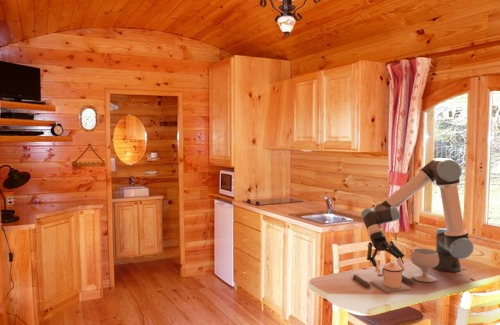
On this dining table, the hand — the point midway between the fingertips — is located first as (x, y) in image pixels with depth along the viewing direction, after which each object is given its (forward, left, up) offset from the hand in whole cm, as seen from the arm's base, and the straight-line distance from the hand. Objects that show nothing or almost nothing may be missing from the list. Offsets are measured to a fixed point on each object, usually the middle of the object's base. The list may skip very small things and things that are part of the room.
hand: (391, 271), depth 208 cm
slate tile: (+1, -1, -8) cm, 8 cm away
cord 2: (-1, -15, -8) cm, 17 cm away
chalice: (-10, -23, -8) cm, 27 cm away
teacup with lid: (+1, -1, -7) cm, 7 cm away
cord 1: (+14, +4, -8) cm, 17 cm away
